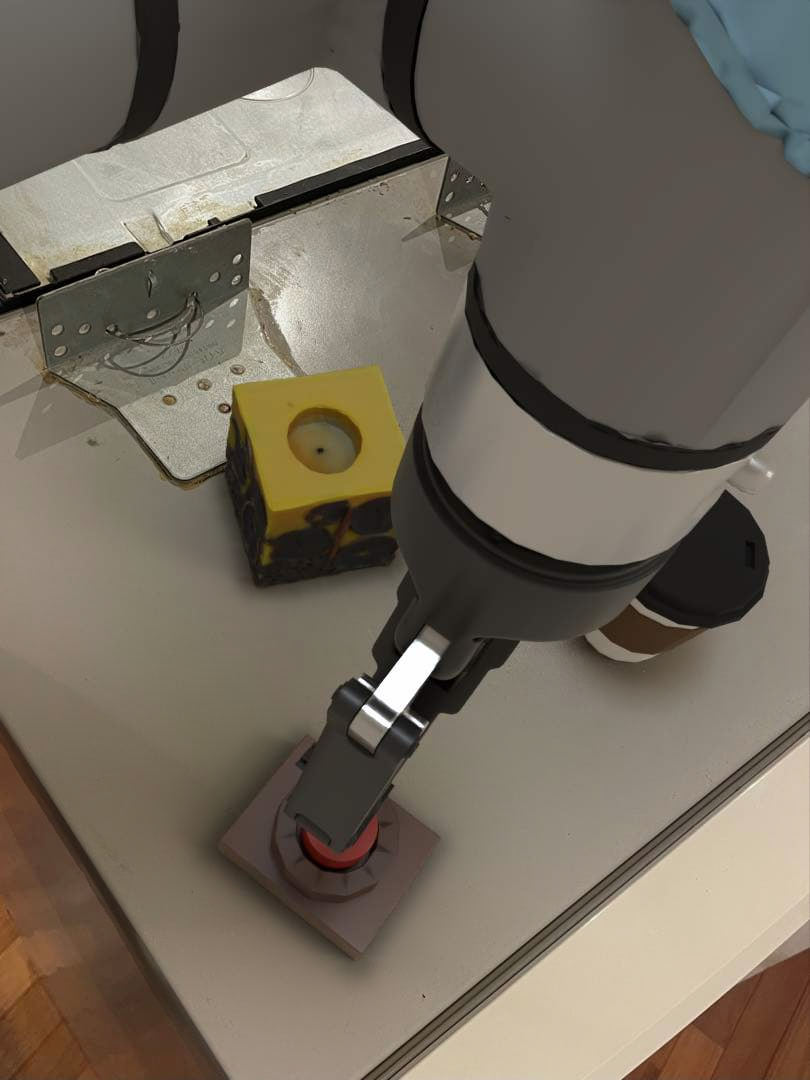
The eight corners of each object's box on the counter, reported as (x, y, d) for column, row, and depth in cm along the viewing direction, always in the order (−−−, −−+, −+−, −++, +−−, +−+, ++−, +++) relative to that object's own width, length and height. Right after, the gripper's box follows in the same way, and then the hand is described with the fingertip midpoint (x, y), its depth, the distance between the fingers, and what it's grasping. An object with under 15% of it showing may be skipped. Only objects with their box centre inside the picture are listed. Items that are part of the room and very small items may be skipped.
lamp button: (286, 838, 54) (290, 829, 53) (330, 782, 57) (334, 772, 55) (344, 884, 54) (349, 876, 52) (385, 826, 56) (392, 817, 55)
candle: (355, 449, 74) (381, 360, 65) (397, 565, 69) (430, 485, 61) (220, 468, 70) (229, 377, 62) (254, 591, 66) (270, 511, 58)
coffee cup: (693, 582, 74) (778, 494, 64) (685, 714, 68) (777, 639, 58) (556, 539, 73) (620, 443, 63) (535, 668, 67) (602, 585, 57)
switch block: (216, 849, 57) (221, 831, 53) (302, 745, 61) (310, 722, 58) (355, 961, 55) (368, 949, 52) (432, 846, 60) (449, 829, 56)
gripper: (480, 861, 19) (315, 1004, 38) (822, 325, 30) (559, 647, 49) (181, 631, 20) (166, 881, 39) (614, 193, 31) (436, 558, 50)
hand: (384, 751), depth 44 cm, fingers open, 7 cm apart
